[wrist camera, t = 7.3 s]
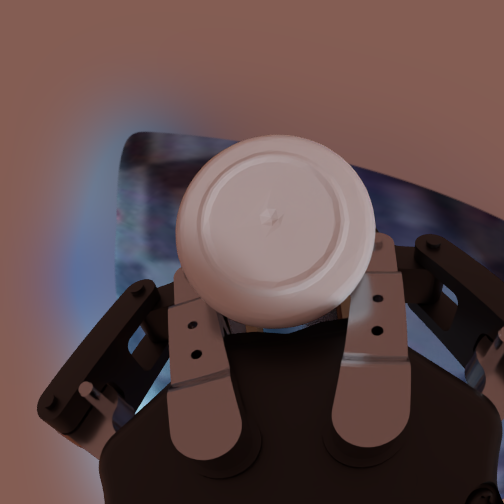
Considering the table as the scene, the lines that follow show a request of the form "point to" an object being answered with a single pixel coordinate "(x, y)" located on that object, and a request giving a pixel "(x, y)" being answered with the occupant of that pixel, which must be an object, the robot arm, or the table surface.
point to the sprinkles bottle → (275, 231)
